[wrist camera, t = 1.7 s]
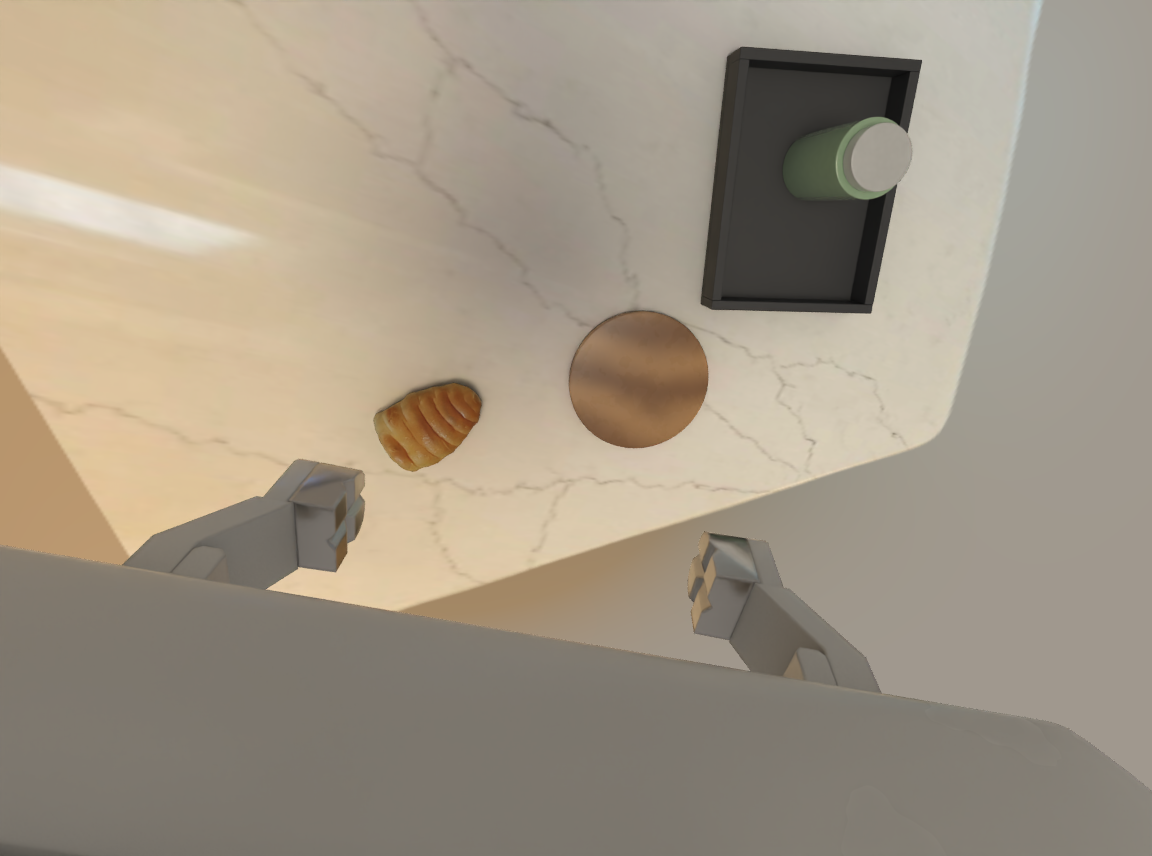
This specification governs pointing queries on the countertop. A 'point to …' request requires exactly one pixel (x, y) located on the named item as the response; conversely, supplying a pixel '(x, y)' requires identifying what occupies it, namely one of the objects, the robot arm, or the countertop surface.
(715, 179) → the tray
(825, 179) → the salt shaker
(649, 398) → the coaster
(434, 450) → the pastry
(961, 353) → the countertop surface
